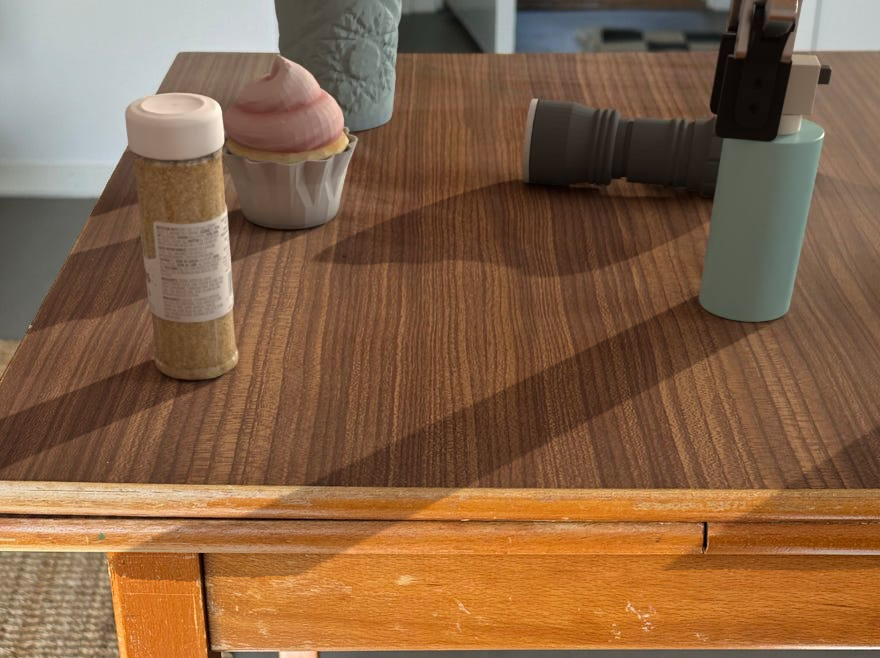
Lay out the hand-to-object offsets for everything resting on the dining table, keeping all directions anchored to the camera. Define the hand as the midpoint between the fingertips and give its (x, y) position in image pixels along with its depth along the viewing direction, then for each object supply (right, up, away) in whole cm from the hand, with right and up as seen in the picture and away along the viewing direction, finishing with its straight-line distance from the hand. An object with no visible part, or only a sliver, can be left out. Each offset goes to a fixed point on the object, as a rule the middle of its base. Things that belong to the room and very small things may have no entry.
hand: (741, 122), depth 71 cm
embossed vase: (-23, +14, +34) cm, 43 cm away
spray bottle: (-1, -3, +2) cm, 4 cm away
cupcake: (-26, 0, +17) cm, 31 cm away
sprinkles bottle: (-29, -13, 0) cm, 32 cm away
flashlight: (-2, +3, +21) cm, 22 cm away
